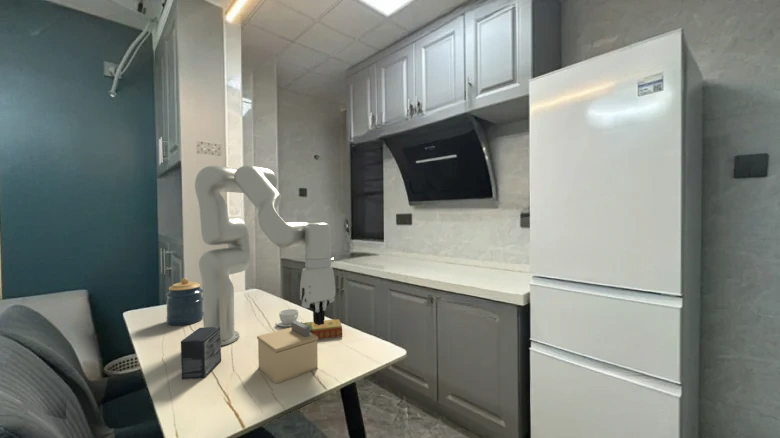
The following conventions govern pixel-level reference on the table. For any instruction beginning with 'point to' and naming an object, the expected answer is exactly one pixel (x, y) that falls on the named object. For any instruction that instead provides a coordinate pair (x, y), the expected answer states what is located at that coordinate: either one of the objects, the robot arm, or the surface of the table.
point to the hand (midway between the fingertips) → (319, 323)
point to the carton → (326, 329)
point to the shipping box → (287, 361)
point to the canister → (184, 303)
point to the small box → (200, 352)
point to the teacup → (288, 317)
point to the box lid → (288, 337)
